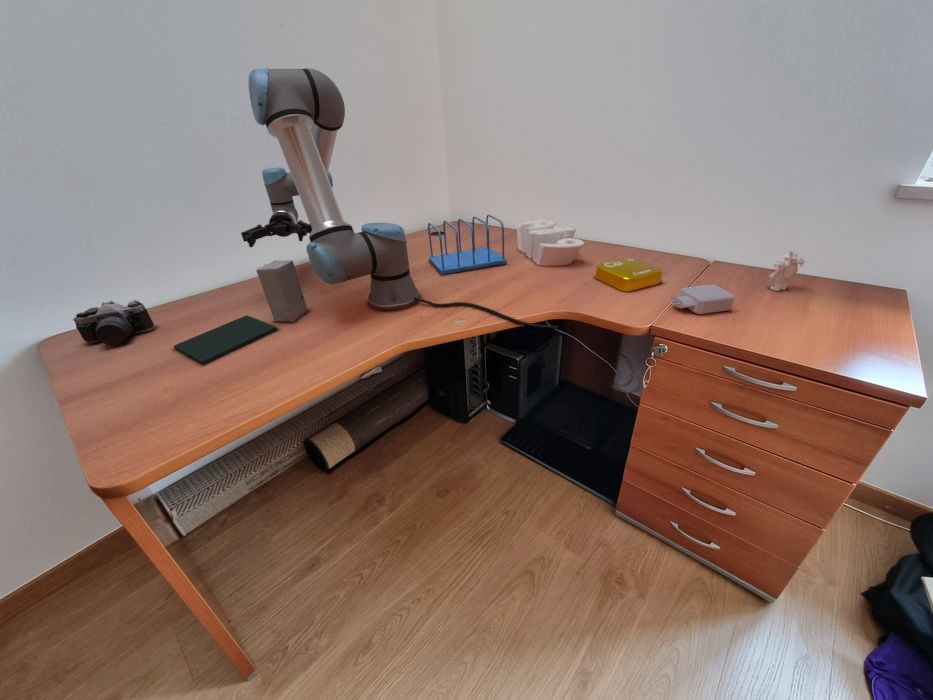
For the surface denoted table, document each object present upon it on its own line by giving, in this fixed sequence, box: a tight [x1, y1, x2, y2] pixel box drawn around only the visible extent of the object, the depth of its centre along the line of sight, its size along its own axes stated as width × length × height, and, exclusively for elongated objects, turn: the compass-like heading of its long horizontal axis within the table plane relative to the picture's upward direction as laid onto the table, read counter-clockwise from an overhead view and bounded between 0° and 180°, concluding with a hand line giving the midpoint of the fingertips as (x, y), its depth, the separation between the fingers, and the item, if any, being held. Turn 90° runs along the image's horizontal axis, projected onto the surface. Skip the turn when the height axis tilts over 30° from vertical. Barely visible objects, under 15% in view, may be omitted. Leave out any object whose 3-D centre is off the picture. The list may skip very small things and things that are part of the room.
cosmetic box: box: [255, 259, 309, 323], centre depth 113 cm, size 8×7×16 cm
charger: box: [667, 283, 735, 315], centre depth 107 cm, size 5×9×15 cm
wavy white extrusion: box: [516, 219, 585, 267], centre depth 151 cm, size 35×16×11 cm, turn 12°
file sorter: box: [427, 214, 508, 275], centre depth 145 cm, size 25×17×15 cm
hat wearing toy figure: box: [768, 250, 806, 292], centre depth 113 cm, size 9×4×12 cm, turn 104°
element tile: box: [595, 257, 663, 293], centre depth 126 cm, size 15×15×5 cm
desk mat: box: [173, 315, 278, 365], centre depth 106 cm, size 15×20×1 cm
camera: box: [72, 299, 155, 346], centre depth 106 cm, size 16×10×10 cm, turn 117°
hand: (274, 239), depth 114 cm, fingers open, 13 cm apart
